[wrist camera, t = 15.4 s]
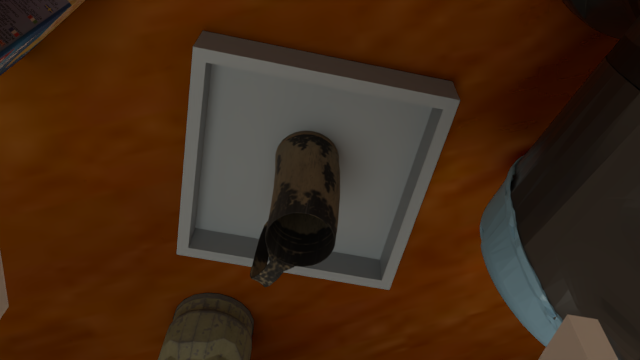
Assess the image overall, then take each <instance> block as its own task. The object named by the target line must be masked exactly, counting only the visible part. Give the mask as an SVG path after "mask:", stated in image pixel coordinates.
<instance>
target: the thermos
mask: <svg viewBox="0 0 640 360" xmlns="http://www.w3.org/2000/svg"><path fill="white" fill-rule="evenodd" d="M253 323H254V320H253V318H252V316H251V313H250V311H249V310H248V309H247V308H246V307H245V306H244V305H243V304H242V303H240V302H238V301H237V300H235V299H233V298H231V297H228V296H225V295H222V294H214V293H203V294H197V295H193V296H191V297H189V298H187V299H184V300H183V301H182V302H181V303H180V304H179V305H178V306H177V309H176V312H175V314H174V317H173V322H172V323H171V324H170V326H169V328H168V331H167V334H166V337H165V340H164V343H163V346H162V349H161V352H160V355H159V358H158V360H250V356H251V350H252V338H251V336H252V334H253Z"/></svg>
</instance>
